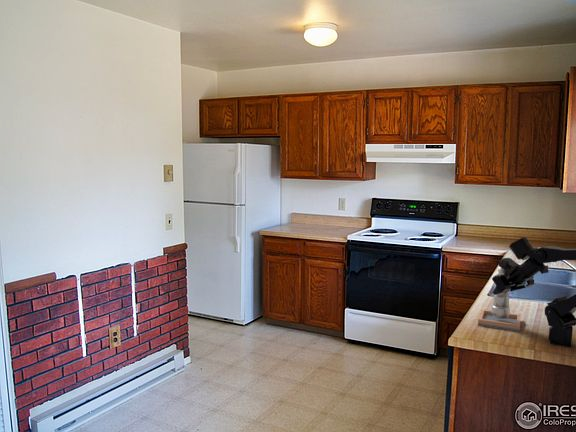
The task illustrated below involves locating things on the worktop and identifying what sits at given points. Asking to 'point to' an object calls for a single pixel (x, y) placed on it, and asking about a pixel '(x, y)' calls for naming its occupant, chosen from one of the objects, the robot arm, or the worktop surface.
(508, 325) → the tray
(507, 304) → the silver tall hollow piece
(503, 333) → the worktop surface
